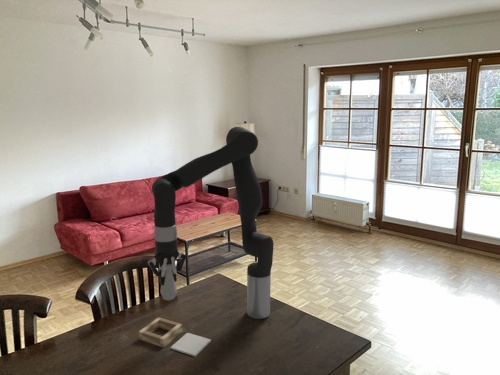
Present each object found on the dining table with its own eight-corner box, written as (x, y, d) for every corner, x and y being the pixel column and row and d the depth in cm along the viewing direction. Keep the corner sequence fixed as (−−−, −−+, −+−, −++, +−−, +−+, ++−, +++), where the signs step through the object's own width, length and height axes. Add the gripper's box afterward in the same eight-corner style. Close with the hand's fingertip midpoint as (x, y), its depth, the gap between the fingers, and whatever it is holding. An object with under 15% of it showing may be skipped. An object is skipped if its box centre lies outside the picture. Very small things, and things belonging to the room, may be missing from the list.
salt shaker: (157, 297, 139) (155, 263, 137) (170, 292, 144) (169, 258, 141) (167, 303, 136) (165, 267, 133) (180, 297, 140) (179, 262, 137)
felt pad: (187, 334, 144) (187, 332, 144) (211, 341, 140) (211, 339, 140) (170, 348, 136) (170, 347, 136) (195, 356, 131) (195, 355, 131)
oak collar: (158, 324, 151) (158, 317, 150) (182, 331, 146) (182, 324, 145) (138, 339, 141) (138, 331, 140) (163, 347, 136) (163, 339, 136)
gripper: (149, 244, 128) (152, 293, 132) (189, 236, 135) (191, 283, 139) (142, 238, 134) (145, 285, 138) (180, 230, 142) (182, 275, 145)
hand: (168, 283), depth 138 cm, fingers closed on salt shaker, 3 cm apart
